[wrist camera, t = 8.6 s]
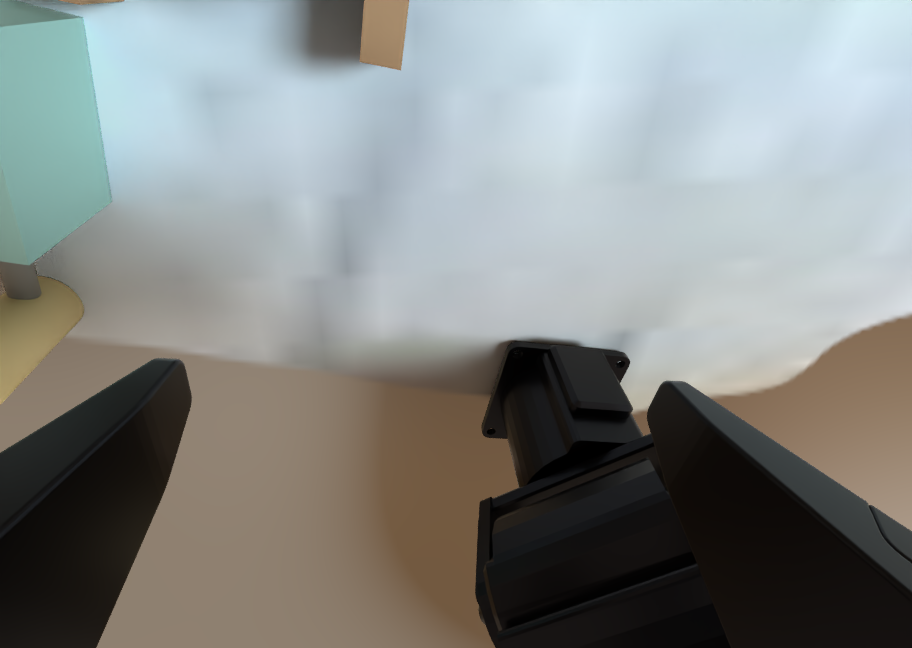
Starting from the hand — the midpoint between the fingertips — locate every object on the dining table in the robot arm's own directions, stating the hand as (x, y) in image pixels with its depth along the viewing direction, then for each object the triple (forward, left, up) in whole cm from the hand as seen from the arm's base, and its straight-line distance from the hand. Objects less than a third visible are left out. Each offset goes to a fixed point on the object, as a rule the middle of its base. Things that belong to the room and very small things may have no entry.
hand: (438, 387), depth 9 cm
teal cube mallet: (-3, +14, -12) cm, 19 cm away
